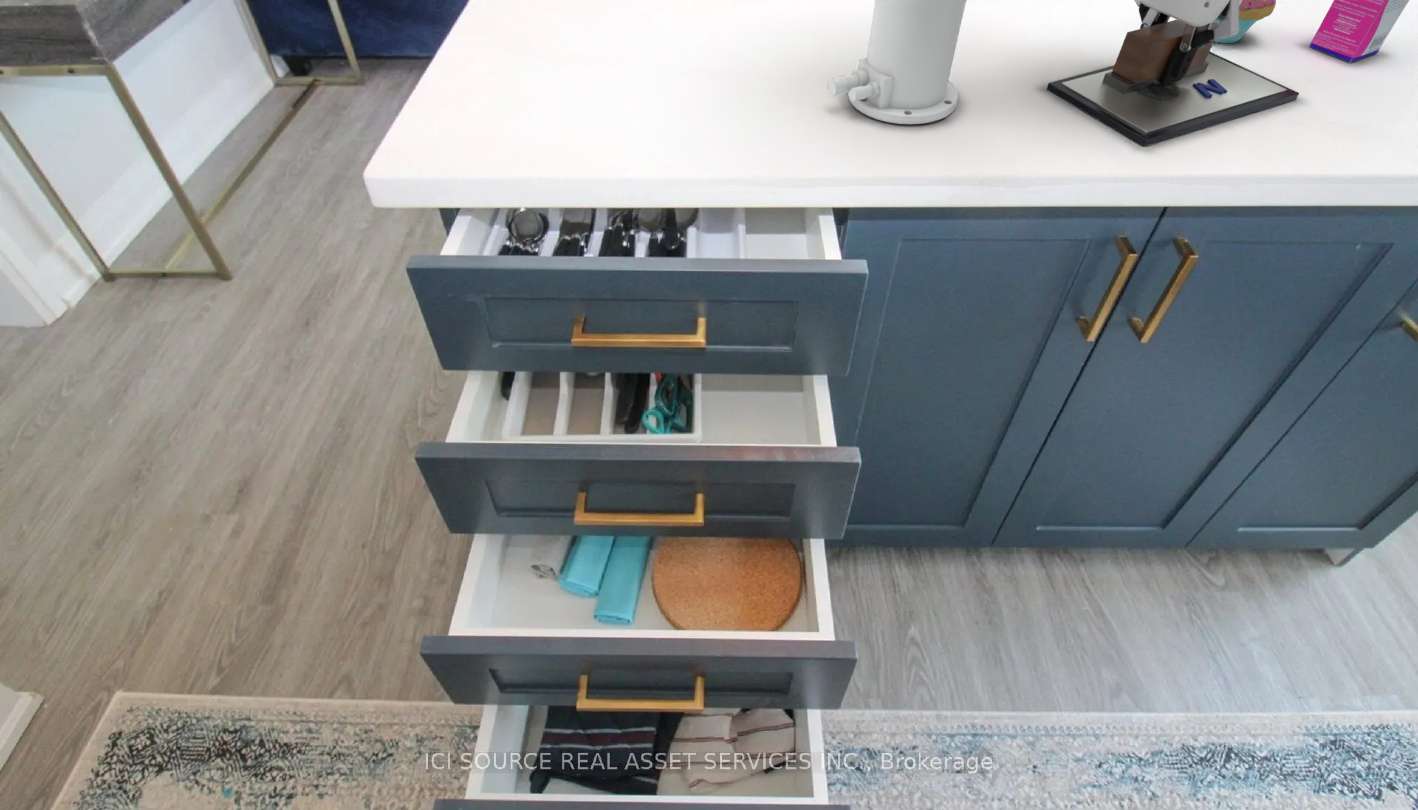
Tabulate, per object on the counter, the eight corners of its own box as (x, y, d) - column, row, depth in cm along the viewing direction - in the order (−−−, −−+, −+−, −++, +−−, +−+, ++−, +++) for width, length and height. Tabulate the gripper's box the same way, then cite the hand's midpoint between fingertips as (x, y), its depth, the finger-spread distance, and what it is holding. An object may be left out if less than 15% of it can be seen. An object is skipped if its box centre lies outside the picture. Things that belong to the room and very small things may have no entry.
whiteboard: (1143, 147, 81) (1147, 138, 80) (1046, 89, 90) (1048, 81, 90) (1295, 99, 88) (1300, 91, 87) (1191, 50, 97) (1194, 42, 96)
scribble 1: (1156, 102, 86) (1157, 100, 85) (1135, 91, 87) (1136, 89, 87) (1181, 95, 87) (1182, 93, 86) (1160, 84, 89) (1161, 82, 88)
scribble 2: (1207, 98, 86) (1208, 96, 86) (1185, 88, 88) (1187, 85, 88) (1232, 91, 87) (1233, 89, 87) (1210, 80, 89) (1212, 78, 89)
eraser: (1125, 94, 87) (1145, 45, 83) (1102, 81, 89) (1120, 33, 85) (1205, 71, 91) (1228, 23, 87) (1181, 59, 93) (1202, 12, 89)
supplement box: (1333, 37, 99) (1390, -61, 91) (1378, 53, 96) (1442, -47, 87) (1305, 46, 97) (1361, -53, 89) (1350, 64, 94) (1413, -38, 85)
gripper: (1142, -121, 80) (1080, 53, 94) (1281, -78, 70) (1189, 111, 84) (1192, -130, 82) (1125, 42, 96) (1334, -89, 72) (1236, 96, 86)
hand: (1156, 72), depth 90 cm, fingers closed on eraser, 3 cm apart
